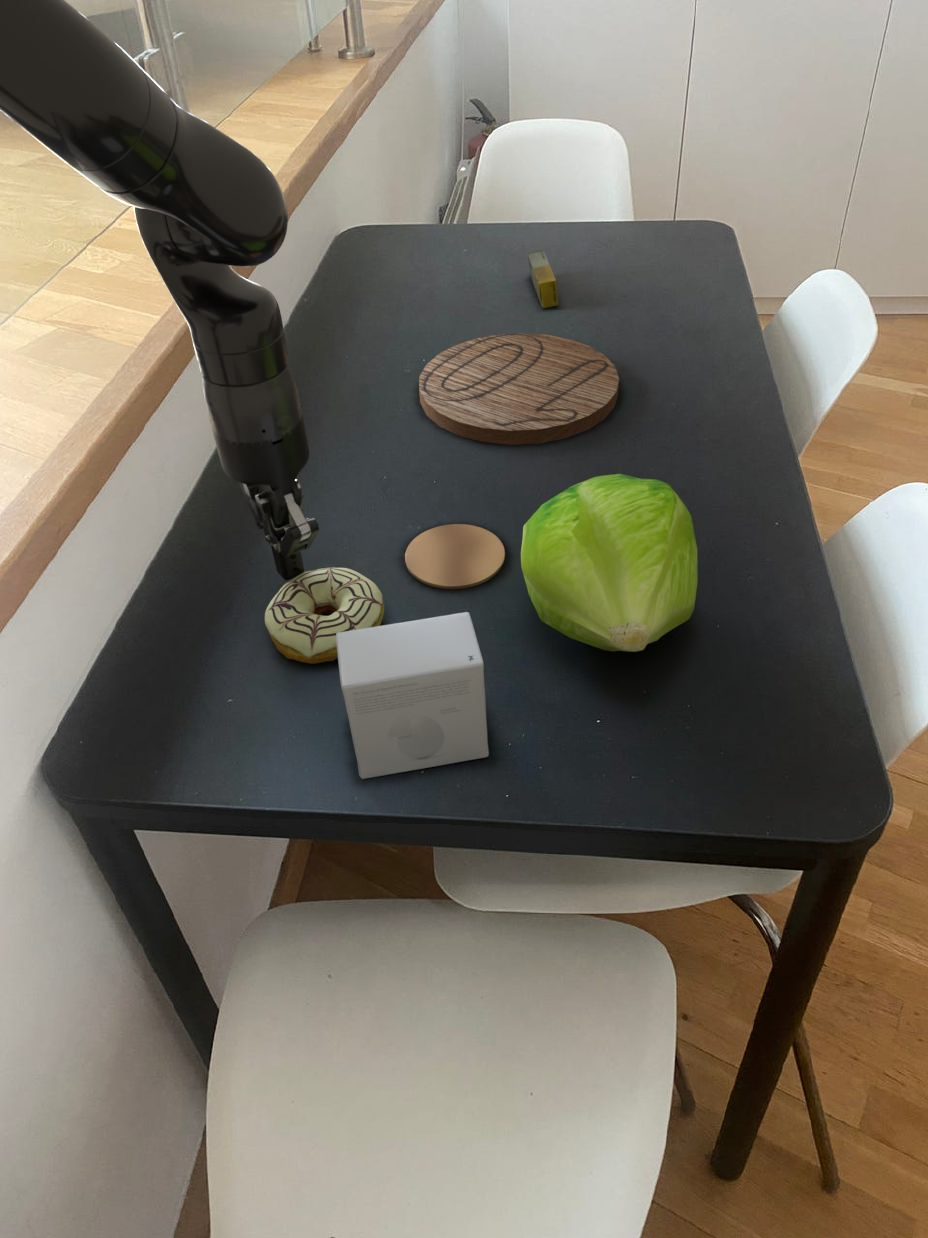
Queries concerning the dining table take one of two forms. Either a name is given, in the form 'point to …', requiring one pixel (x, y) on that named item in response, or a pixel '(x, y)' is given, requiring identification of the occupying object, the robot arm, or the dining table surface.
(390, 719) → the cosmetics box
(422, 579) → the cork coaster
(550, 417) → the trivet
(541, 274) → the medication box
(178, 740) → the dining table surface
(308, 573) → the decorated donut
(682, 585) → the lettuce
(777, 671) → the dining table surface
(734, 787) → the dining table surface
